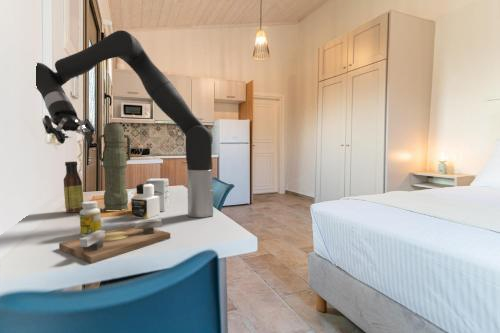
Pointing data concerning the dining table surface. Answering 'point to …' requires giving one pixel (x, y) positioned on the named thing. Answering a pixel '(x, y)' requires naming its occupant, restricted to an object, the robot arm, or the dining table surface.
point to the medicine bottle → (145, 202)
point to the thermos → (114, 166)
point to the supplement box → (161, 191)
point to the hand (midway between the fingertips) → (77, 142)
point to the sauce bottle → (73, 188)
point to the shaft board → (115, 241)
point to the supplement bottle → (90, 218)
